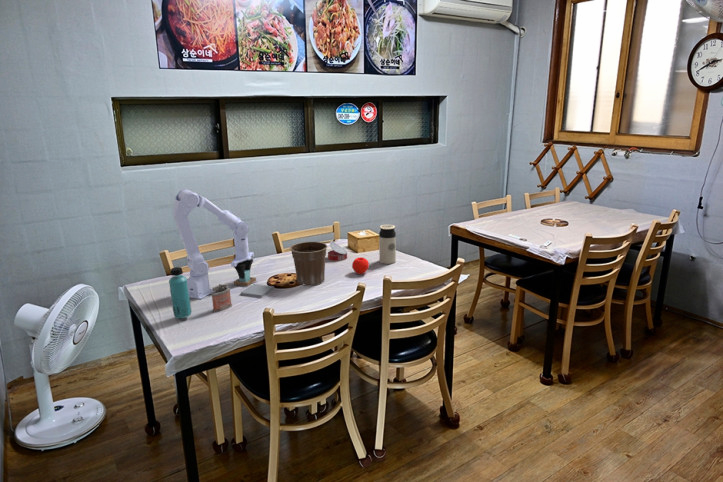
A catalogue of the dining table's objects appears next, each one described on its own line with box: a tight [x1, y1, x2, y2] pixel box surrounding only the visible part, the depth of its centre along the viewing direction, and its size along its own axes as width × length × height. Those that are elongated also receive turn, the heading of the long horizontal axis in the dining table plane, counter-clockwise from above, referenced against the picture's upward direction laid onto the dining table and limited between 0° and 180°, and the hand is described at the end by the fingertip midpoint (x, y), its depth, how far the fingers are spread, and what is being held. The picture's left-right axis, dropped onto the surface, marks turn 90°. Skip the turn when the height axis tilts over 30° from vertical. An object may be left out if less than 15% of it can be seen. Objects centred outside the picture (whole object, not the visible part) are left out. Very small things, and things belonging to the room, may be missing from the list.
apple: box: [351, 257, 370, 275], centre depth 221 cm, size 8×8×7 cm
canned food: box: [327, 240, 348, 262], centre depth 244 cm, size 11×10×10 cm
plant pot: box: [289, 241, 328, 287], centre depth 212 cm, size 16×16×16 cm
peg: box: [238, 269, 251, 282], centre depth 213 cm, size 4×4×6 cm
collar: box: [233, 276, 257, 287], centre depth 213 cm, size 7×7×2 cm
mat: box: [240, 283, 275, 298], centre depth 204 cm, size 10×10×1 cm
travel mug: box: [378, 224, 397, 265], centre depth 235 cm, size 8×8×18 cm
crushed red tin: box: [210, 282, 233, 313], centre depth 187 cm, size 8×3×10 cm, turn 141°
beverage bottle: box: [168, 266, 192, 319], centre depth 177 cm, size 6×7×20 cm
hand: (244, 276), depth 213 cm, fingers closed on peg, 3 cm apart
